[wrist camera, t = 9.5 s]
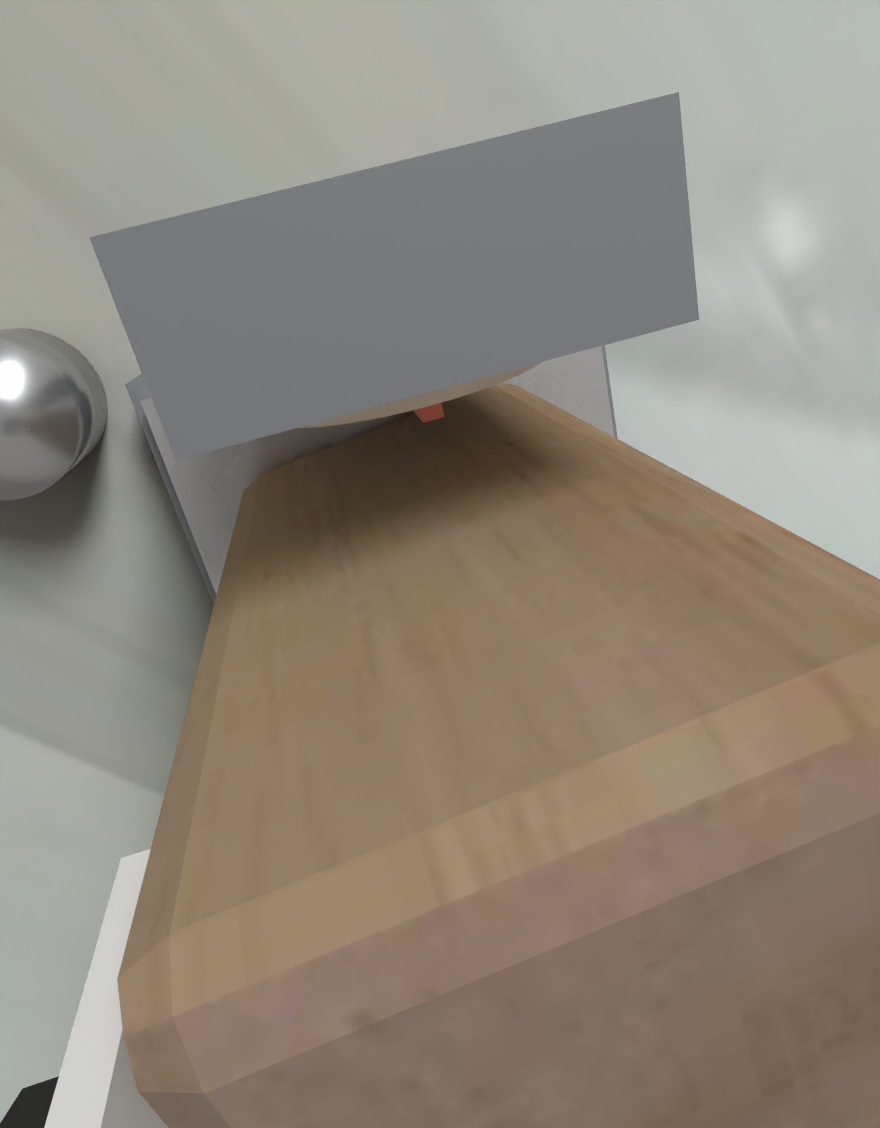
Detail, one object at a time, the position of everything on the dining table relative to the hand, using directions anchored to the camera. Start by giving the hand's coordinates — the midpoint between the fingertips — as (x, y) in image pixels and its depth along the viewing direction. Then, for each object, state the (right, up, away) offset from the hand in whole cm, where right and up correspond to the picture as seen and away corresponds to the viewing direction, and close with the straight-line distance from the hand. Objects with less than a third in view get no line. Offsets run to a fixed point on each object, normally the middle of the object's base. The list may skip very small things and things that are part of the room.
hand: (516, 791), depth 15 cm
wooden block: (-2, +5, +13) cm, 14 cm away
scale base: (-3, +8, +15) cm, 18 cm away
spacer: (-16, +10, +12) cm, 23 cm away
